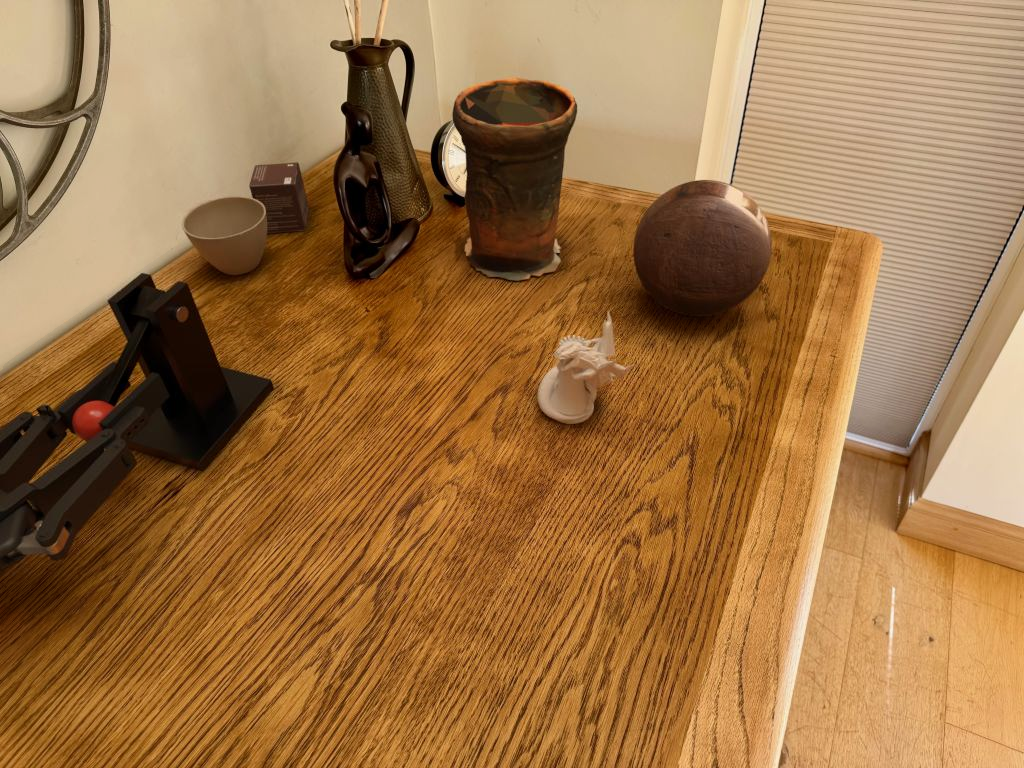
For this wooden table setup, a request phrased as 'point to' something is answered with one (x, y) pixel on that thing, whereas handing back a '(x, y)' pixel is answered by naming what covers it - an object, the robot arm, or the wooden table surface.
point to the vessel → (514, 173)
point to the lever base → (187, 379)
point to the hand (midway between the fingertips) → (141, 379)
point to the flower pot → (228, 232)
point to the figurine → (579, 376)
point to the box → (281, 196)
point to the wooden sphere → (702, 248)
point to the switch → (118, 370)
